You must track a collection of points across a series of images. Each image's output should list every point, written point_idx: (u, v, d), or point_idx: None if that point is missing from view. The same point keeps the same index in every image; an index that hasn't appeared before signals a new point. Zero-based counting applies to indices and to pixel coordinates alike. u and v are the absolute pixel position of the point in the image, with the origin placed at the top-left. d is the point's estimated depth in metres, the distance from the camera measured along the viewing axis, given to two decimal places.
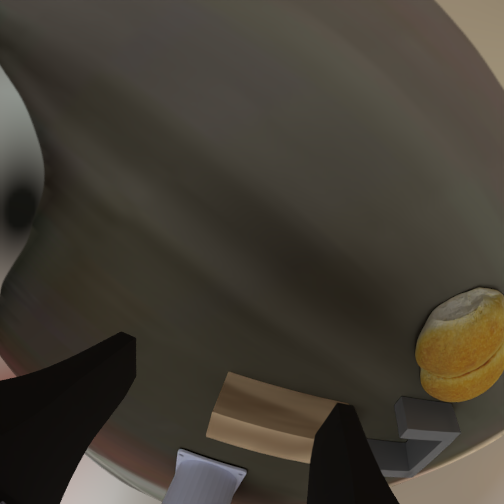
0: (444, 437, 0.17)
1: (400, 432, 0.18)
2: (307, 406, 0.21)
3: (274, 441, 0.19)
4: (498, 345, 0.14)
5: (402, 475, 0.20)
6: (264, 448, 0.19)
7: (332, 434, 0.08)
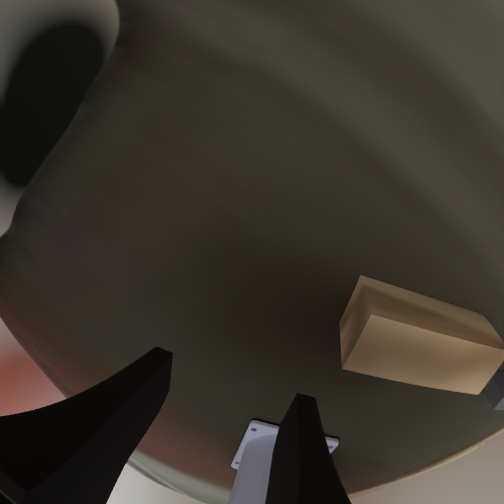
0: None
1: None
2: (455, 313, 0.15)
3: (437, 356, 0.13)
4: None
5: None
6: (419, 374, 0.14)
7: (289, 425, 0.08)
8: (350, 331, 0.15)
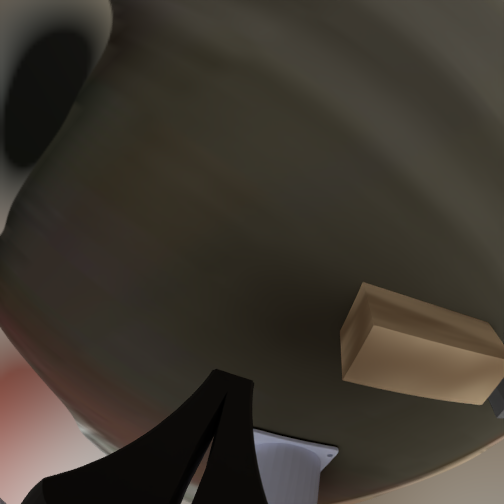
0: None
1: None
2: (459, 322, 0.15)
3: (441, 367, 0.12)
4: None
5: None
6: (422, 385, 0.13)
7: (222, 406, 0.08)
8: (351, 341, 0.15)
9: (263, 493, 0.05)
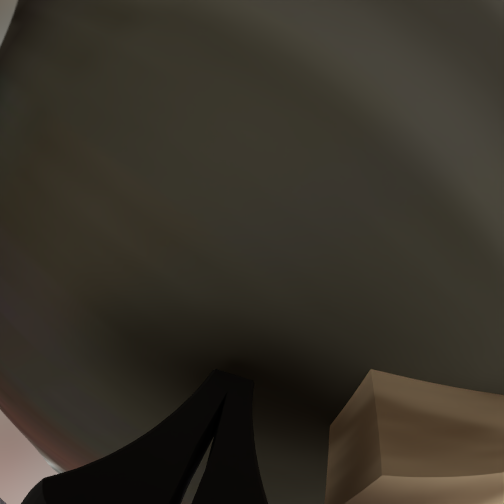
0: None
1: None
2: (501, 414, 0.08)
3: (470, 493, 0.06)
4: None
5: None
6: None
7: (223, 406, 0.08)
8: (343, 464, 0.08)
9: (263, 493, 0.05)
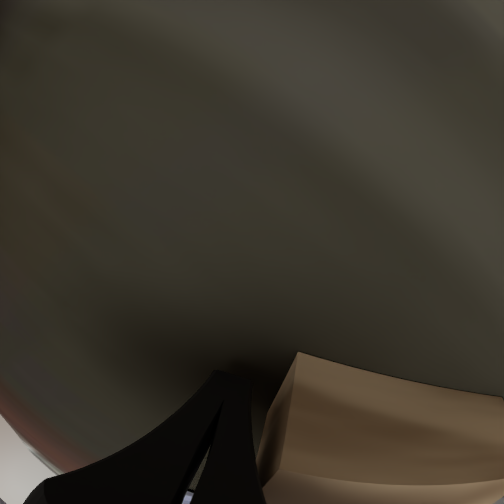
0: None
1: None
2: (460, 416, 0.08)
3: None
4: None
5: None
6: None
7: None
8: (263, 455, 0.08)
9: (262, 493, 0.05)
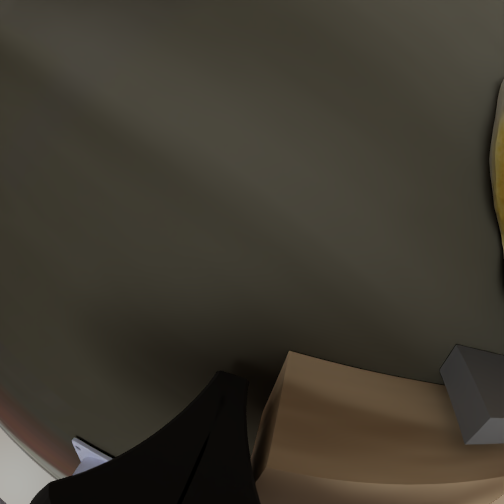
0: None
1: (466, 430, 0.06)
2: None
3: (408, 503, 0.06)
4: None
5: None
6: None
7: None
8: (256, 454, 0.08)
9: (255, 491, 0.05)
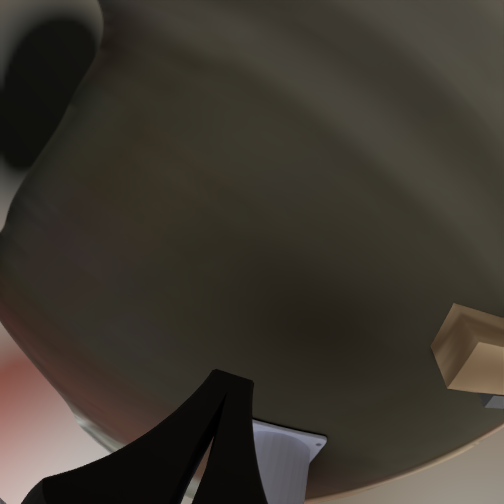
0: None
1: None
2: None
3: None
4: None
5: None
6: (499, 385, 0.13)
7: (223, 406, 0.08)
8: (450, 355, 0.15)
9: (263, 493, 0.05)
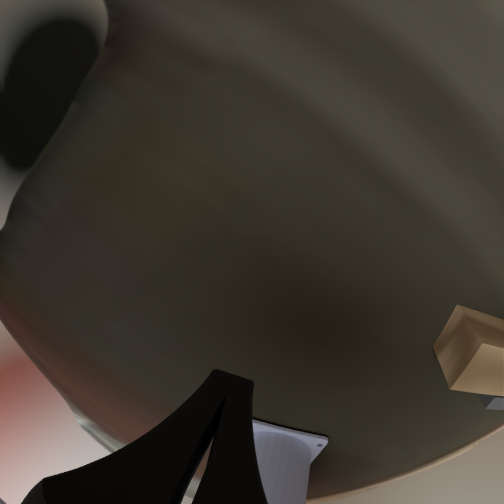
0: None
1: None
2: None
3: None
4: None
5: None
6: (501, 387, 0.13)
7: (222, 406, 0.08)
8: (454, 356, 0.15)
9: (263, 493, 0.05)
